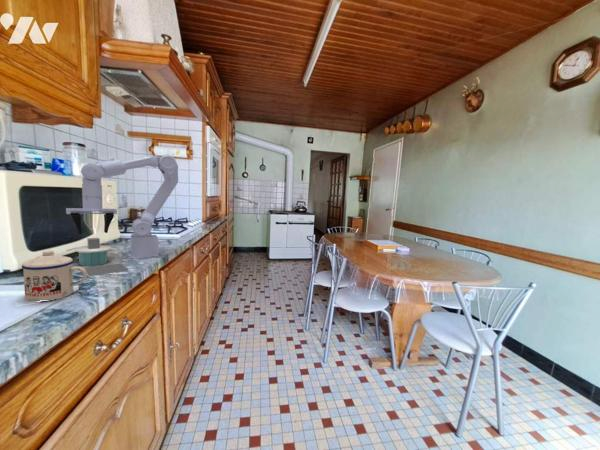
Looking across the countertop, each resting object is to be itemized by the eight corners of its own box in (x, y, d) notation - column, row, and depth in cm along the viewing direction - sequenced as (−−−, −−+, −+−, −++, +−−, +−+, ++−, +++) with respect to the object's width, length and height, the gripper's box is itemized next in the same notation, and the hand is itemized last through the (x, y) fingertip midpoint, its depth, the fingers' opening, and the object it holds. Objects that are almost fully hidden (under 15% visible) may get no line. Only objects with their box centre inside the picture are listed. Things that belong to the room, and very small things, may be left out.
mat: (121, 264, 92) (121, 263, 92) (129, 271, 85) (129, 270, 85) (84, 269, 84) (84, 267, 84) (89, 277, 77) (89, 276, 77)
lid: (108, 245, 97) (107, 235, 97) (113, 250, 90) (113, 239, 90) (73, 248, 90) (73, 237, 89) (77, 254, 83) (76, 242, 83)
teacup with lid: (14, 305, 57) (10, 256, 56) (36, 290, 66) (34, 247, 64) (80, 300, 62) (78, 254, 61) (93, 287, 70) (92, 246, 69)
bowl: (104, 260, 96) (104, 246, 95) (108, 264, 91) (108, 250, 90) (78, 263, 90) (78, 248, 90) (81, 268, 85) (80, 252, 85)
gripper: (67, 196, 85) (68, 235, 86) (118, 198, 95) (119, 233, 97) (65, 195, 89) (66, 232, 91) (114, 197, 100) (114, 230, 101)
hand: (93, 233), depth 94 cm, fingers open, 7 cm apart
